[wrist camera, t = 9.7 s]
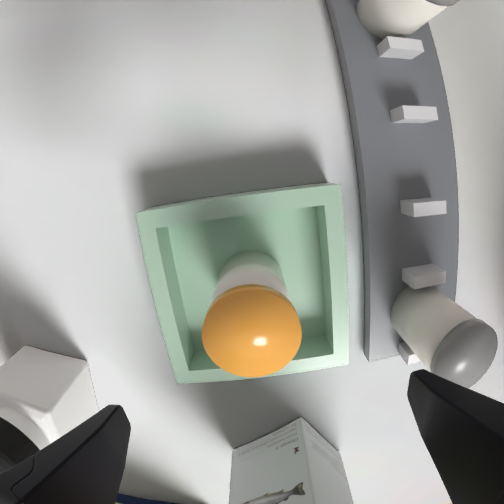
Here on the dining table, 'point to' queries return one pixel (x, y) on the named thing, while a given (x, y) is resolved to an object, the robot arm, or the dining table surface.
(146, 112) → the dining table surface
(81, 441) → the robot arm
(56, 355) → the medicine bottle
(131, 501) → the protein box
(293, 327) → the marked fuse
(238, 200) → the tray
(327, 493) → the supplement box
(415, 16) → the block
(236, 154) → the dining table surface
